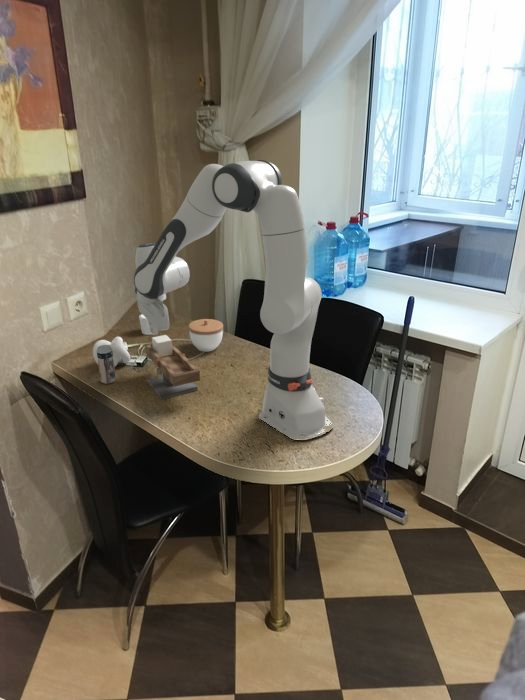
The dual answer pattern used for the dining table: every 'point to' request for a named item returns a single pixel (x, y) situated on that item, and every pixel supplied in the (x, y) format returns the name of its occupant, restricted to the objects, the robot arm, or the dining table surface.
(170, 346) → the white block
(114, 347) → the white knot sculpture
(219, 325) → the lidded bowl
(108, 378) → the beer can
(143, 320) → the shot glass
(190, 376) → the brown wooden tray
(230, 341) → the dining table surface
